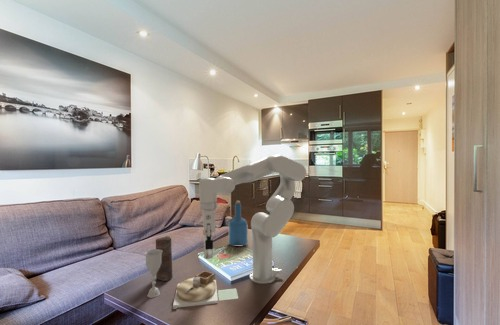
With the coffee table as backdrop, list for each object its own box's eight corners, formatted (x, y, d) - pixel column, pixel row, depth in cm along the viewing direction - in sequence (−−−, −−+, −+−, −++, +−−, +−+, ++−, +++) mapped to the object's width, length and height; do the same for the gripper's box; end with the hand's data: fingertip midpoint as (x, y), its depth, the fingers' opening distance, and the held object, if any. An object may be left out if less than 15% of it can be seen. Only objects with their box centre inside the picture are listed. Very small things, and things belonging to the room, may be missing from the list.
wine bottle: (251, 243, 166) (251, 200, 167) (240, 248, 155) (240, 203, 155) (235, 240, 174) (235, 199, 174) (224, 245, 162) (224, 201, 163)
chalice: (165, 289, 105) (164, 249, 105) (159, 298, 98) (159, 255, 98) (148, 290, 104) (148, 249, 105) (141, 299, 98) (141, 255, 98)
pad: (236, 289, 105) (236, 288, 105) (238, 299, 97) (238, 298, 97) (217, 291, 103) (217, 290, 103) (218, 301, 95) (218, 300, 95)
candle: (154, 283, 111) (154, 240, 111) (156, 276, 118) (156, 235, 118) (172, 280, 113) (171, 238, 113) (172, 274, 120) (172, 234, 120)
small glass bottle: (211, 254, 107) (210, 228, 107) (214, 257, 104) (213, 230, 104) (203, 256, 106) (201, 229, 106) (205, 259, 102) (204, 231, 102)
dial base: (215, 283, 110) (215, 279, 110) (217, 304, 94) (217, 300, 94) (178, 286, 107) (178, 283, 107) (173, 309, 91) (173, 305, 91)
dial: (197, 305, 90) (197, 292, 90) (168, 294, 98) (168, 282, 98) (223, 286, 104) (223, 274, 104) (196, 277, 112) (196, 267, 112)
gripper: (217, 208, 97) (218, 253, 97) (216, 202, 114) (217, 240, 114) (198, 209, 96) (199, 255, 96) (200, 203, 112) (201, 241, 112)
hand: (209, 246), depth 105 cm, fingers closed on small glass bottle, 4 cm apart
